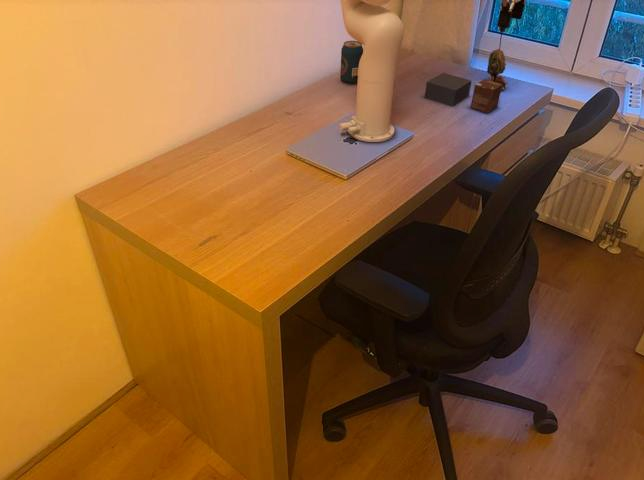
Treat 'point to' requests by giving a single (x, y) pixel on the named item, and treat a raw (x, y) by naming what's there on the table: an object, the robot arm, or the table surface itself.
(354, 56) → the soda can
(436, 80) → the block
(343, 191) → the table surface
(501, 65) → the plant with pod
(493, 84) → the box
